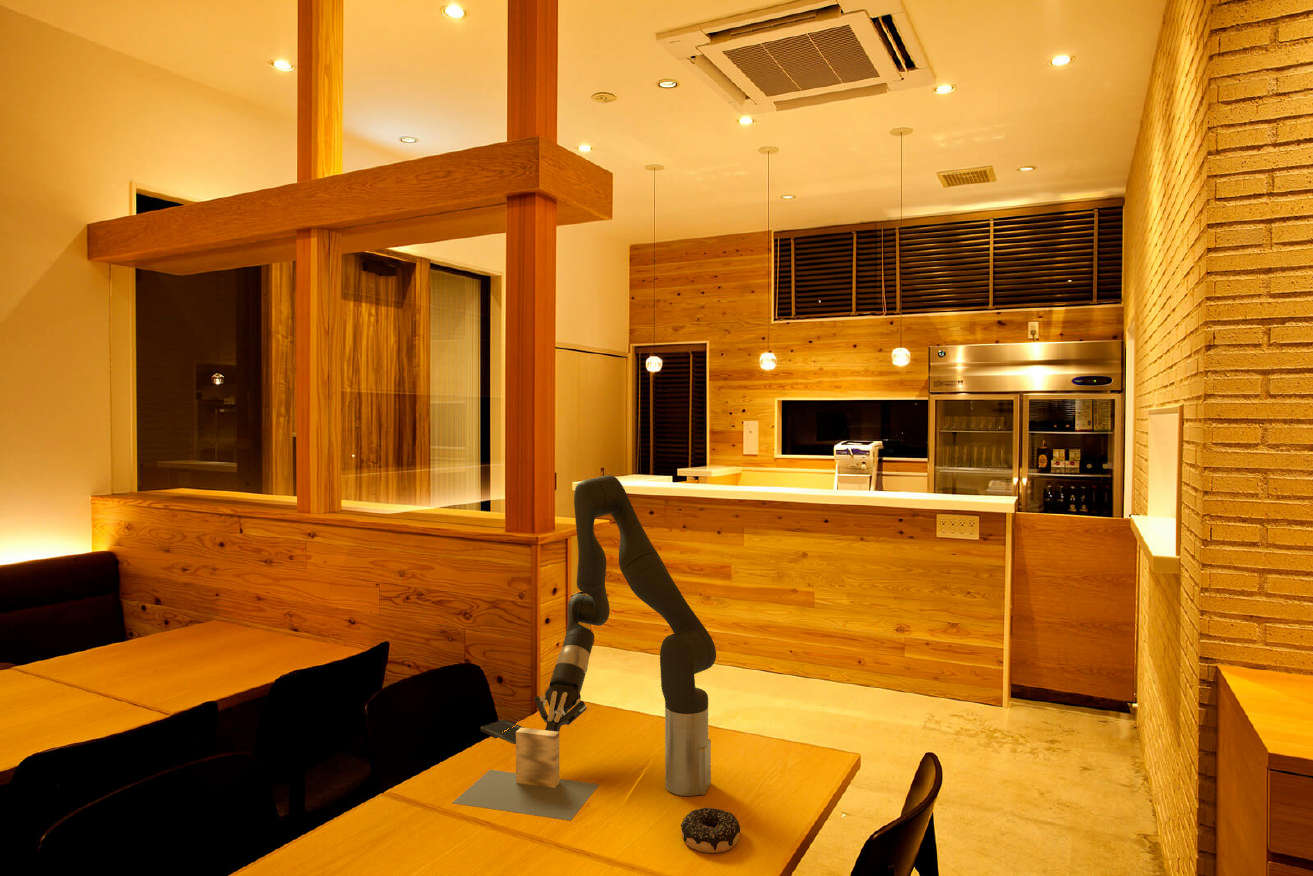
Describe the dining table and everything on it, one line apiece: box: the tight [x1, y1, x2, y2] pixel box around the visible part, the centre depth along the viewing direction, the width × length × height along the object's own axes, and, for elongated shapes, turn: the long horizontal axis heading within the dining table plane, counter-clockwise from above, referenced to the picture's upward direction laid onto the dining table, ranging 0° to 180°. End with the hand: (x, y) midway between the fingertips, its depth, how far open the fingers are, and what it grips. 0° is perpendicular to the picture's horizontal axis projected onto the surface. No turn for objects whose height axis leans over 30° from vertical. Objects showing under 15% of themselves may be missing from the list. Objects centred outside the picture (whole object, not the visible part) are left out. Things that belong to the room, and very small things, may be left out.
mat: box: [451, 769, 600, 822], centre depth 162 cm, size 26×16×1 cm, turn 74°
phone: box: [480, 719, 525, 745], centre depth 196 cm, size 8×1×15 cm
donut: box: [680, 807, 741, 854], centre depth 145 cm, size 11×12×4 cm
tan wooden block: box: [515, 727, 560, 788], centre depth 167 cm, size 9×3×11 cm, turn 74°
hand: (549, 740), depth 173 cm, fingers closed
